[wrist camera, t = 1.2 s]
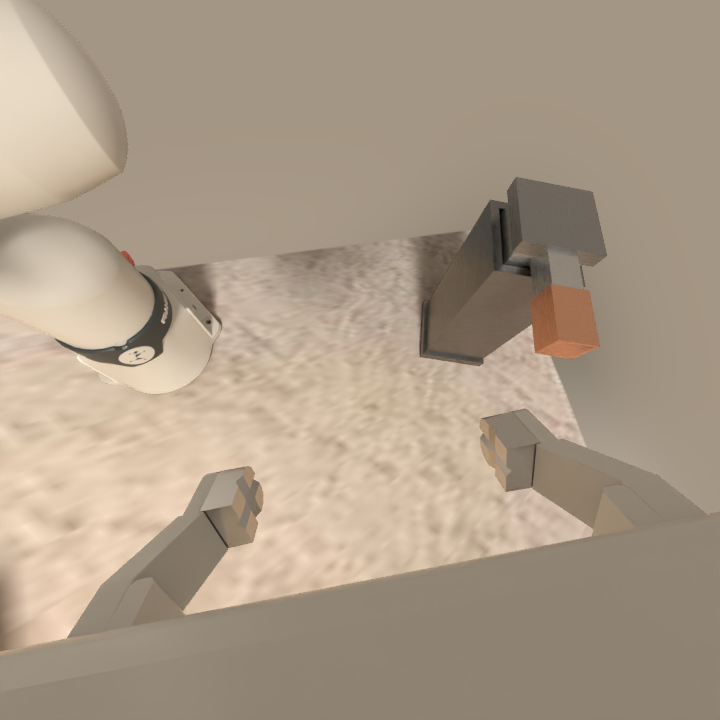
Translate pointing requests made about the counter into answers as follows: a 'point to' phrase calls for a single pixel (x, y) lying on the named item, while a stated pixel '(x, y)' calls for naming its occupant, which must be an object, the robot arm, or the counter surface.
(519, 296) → the sleeve
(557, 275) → the layered grey-topped block
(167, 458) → the counter surface
